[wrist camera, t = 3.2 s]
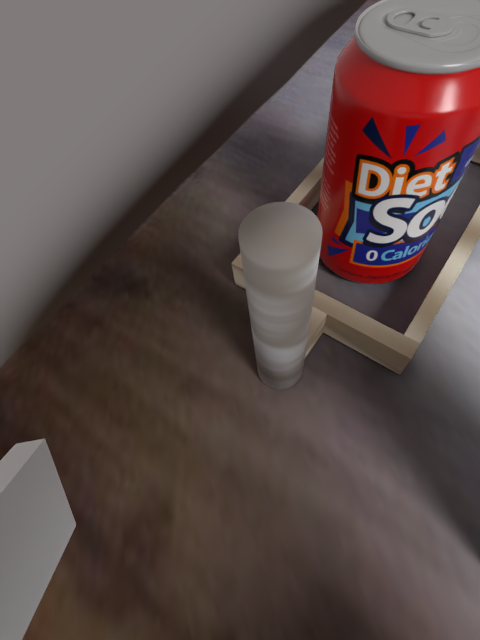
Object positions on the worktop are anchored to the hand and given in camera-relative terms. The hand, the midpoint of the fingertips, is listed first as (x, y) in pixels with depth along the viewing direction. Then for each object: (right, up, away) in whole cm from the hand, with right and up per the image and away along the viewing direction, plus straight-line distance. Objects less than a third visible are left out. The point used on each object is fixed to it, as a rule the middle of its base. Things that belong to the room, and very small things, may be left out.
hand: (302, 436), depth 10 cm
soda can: (+8, +8, +20) cm, 23 cm away
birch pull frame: (+8, +9, +19) cm, 23 cm away
